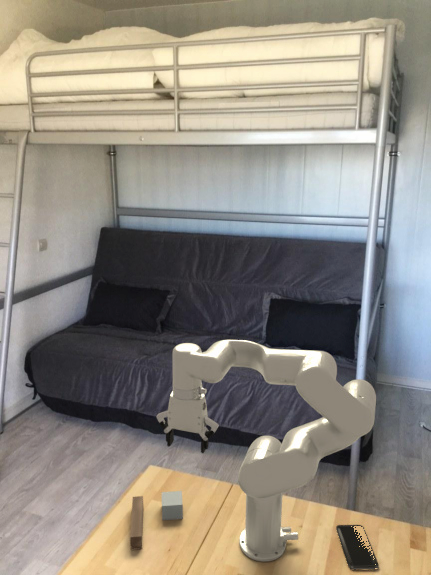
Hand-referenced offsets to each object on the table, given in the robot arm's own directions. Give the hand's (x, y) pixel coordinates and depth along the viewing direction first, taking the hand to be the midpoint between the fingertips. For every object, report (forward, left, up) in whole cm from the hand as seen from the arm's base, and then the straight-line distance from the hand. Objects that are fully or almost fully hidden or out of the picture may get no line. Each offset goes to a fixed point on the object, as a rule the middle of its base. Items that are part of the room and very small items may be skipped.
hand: (187, 447), depth 135 cm
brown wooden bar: (+14, -1, -26) cm, 29 cm away
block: (+4, -6, -26) cm, 27 cm away
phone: (-45, +13, -26) cm, 53 cm away
